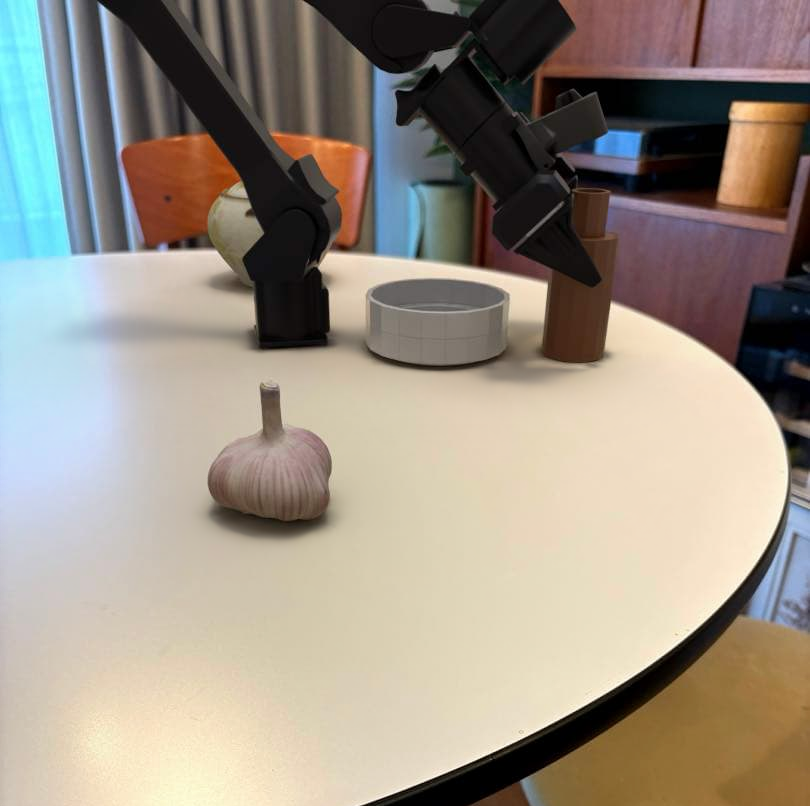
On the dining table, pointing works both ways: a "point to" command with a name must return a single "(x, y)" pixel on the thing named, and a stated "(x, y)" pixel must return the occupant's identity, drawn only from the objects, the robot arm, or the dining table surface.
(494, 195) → the robot arm
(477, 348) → the dish
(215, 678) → the dining table surface
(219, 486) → the garlic bulb
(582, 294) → the bottle
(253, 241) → the sugar bowl
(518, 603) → the dining table surface
